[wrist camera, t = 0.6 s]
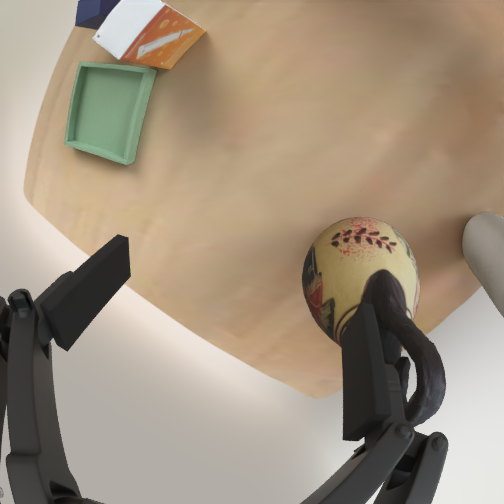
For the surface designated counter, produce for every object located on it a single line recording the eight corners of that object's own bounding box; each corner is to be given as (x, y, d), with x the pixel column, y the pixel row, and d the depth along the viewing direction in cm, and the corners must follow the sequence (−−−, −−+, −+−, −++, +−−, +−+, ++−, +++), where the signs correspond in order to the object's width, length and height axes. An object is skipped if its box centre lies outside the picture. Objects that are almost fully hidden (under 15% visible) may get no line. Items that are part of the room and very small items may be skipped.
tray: (87, 62, 32) (79, 61, 30) (157, 69, 32) (149, 68, 30) (72, 142, 40) (63, 145, 38) (134, 162, 40) (126, 165, 38)
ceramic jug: (378, 297, 44) (409, 464, 18) (293, 279, 45) (267, 460, 20) (416, 207, 35) (529, 364, 10) (320, 179, 37) (342, 351, 11)
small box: (171, 70, 32) (118, 62, 21) (145, 50, 31) (89, 39, 20) (208, 30, 29) (165, 3, 17) (179, 11, 27) (132, -15, 16)
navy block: (108, 9, 27) (78, 0, 20) (131, -1, 26) (102, -12, 19) (106, 31, 29) (74, 26, 22) (129, 23, 28) (99, 13, 21)
